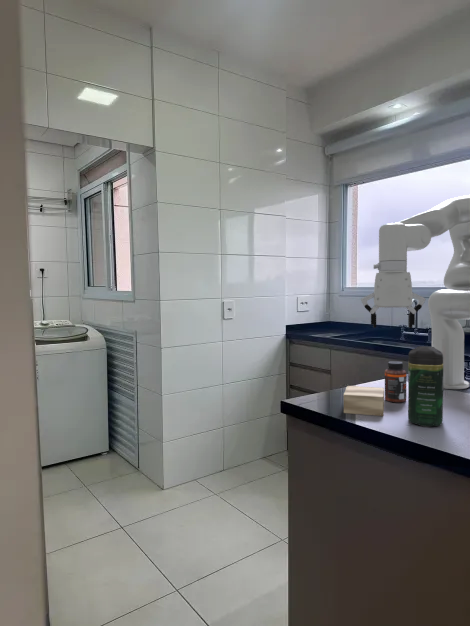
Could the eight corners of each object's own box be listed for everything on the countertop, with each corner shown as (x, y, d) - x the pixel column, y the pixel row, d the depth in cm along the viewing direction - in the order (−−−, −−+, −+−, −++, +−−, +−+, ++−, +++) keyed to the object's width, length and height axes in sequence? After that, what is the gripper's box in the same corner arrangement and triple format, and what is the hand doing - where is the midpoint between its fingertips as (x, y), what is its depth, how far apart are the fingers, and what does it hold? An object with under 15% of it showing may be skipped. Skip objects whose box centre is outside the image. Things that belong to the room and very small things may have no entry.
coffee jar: (444, 429, 98) (444, 350, 97) (407, 425, 101) (407, 349, 100) (442, 417, 107) (442, 344, 105) (409, 414, 110) (408, 343, 109)
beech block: (347, 402, 122) (347, 385, 121) (384, 405, 118) (384, 387, 118) (343, 412, 112) (343, 394, 112) (383, 416, 109) (383, 397, 108)
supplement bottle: (408, 403, 119) (408, 364, 118) (386, 403, 120) (386, 364, 120) (404, 398, 125) (404, 360, 124) (383, 397, 126) (383, 360, 125)
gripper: (361, 268, 118) (361, 328, 119) (427, 266, 113) (427, 329, 114) (360, 269, 125) (360, 326, 126) (423, 267, 121) (422, 326, 122)
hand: (392, 327), depth 120 cm, fingers open, 9 cm apart
